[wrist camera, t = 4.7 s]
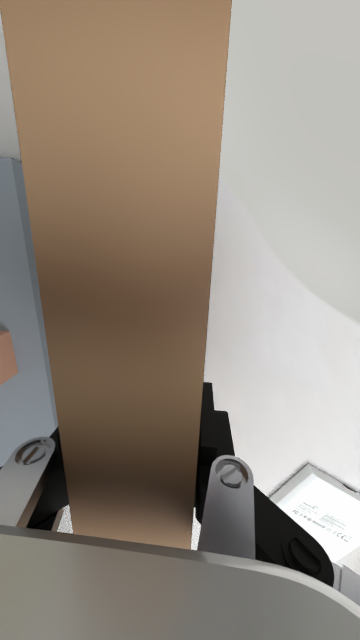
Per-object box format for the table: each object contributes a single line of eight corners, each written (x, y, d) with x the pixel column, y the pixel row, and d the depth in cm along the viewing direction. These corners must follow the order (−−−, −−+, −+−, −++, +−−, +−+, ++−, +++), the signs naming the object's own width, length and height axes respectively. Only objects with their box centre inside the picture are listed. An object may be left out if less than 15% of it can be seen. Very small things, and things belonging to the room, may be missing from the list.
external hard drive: (216, 536, 22) (304, 456, 18) (285, 572, 23) (384, 502, 19) (217, 558, 21) (314, 476, 17) (291, 596, 21) (400, 525, 18)
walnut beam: (186, 540, 16) (179, 698, 10) (131, 532, 16) (94, 683, 11) (214, 134, 9) (235, -56, 4) (117, 133, 10) (-8, -43, 4)
